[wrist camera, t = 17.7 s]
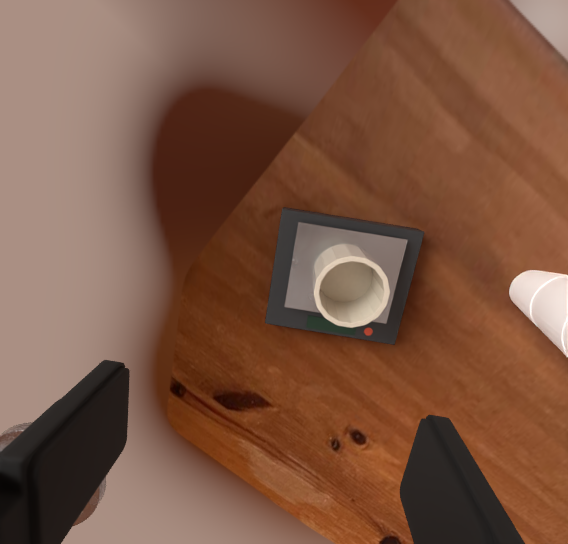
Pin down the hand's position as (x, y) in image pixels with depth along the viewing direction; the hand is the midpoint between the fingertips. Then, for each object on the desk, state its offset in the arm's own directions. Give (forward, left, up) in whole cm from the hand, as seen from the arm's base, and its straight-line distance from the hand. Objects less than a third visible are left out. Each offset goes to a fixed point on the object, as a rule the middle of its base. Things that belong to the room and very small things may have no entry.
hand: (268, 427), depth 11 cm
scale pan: (+6, -2, -29) cm, 30 cm away
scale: (+6, -3, -32) cm, 33 cm away
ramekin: (+6, -2, -28) cm, 29 cm away
